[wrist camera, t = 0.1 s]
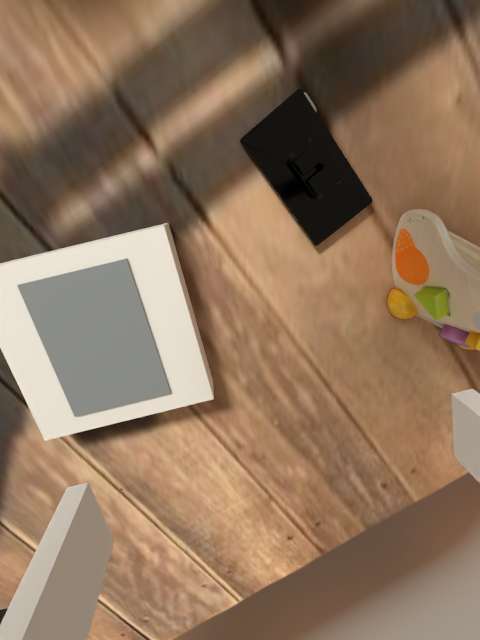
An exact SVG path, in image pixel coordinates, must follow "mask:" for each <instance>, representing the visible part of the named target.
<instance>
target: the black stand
mask: <svg viewBox="0 0 480 640" xmlns="http://www.w3.org/2000/svg"><path fill="white" fill-rule="evenodd" d="M240 143H241V144H242V146H243V147H244V148H245V150H246V151H247V153H248V154H249V155H250V157H251V158H252V160H253V161H254V162H255V164H256V165H257V166H258V168H259V169H260V171H261V172H262V173H263V175H264V176H265V178H266V179H267V180H268V182H269V183H270V185H271V186H272V187H273V189H274V190H275V191H276V193H277V194H278V196H279V197H280V198H281V200H282V201H283V203H284V204H285V205H286V207H287V208H288V210H289V211H290V212H291V214H292V215H293V216H294V218H295V219H296V221H297V222H298V223H299V225H300V226H301V228H302V229H303V230H304V232H305V233H306V234H307V236H308V237H309V239H310V240H311V241H312V243H313V244H314V245H318V244H320V243H321V242H322V241H324V240H325V239H326V238H327V237H329V236H330V235H331V234H332V233H334V232H335V231H336V230H338V229H339V228H340V227H341V226H343V225H344V224H345V223H346V222H348V221H349V220H350V219H352V218H353V217H354V216H355V215H357V214H358V213H359V212H360V211H362V210H363V209H364V208H366V207H367V206H368V205H369V204H371V203H372V198H371V197H370V195H369V193H368V192H367V190H366V189H365V187H364V186H363V184H362V183H361V181H360V179H359V178H358V176H357V175H356V173H355V172H354V170H353V169H352V167H351V165H350V164H349V162H348V161H347V159H346V158H345V156H344V155H343V153H342V151H341V150H340V148H339V147H338V145H337V144H336V142H335V141H334V139H333V137H332V136H331V134H330V133H329V131H328V130H327V128H326V127H325V125H324V124H323V122H322V120H321V119H320V117H319V116H318V114H317V112H316V107H315V106H314V104H313V103H312V101H311V99H310V98H309V96H308V95H307V93H305V92H303V91H302V90H301V89H298V90H297V91H296V92H295V93H293V94H292V95H291V96H290V97H289V98H288V99H286V100H285V101H284V102H283V103H282V104H281V105H279V106H278V107H277V108H276V109H275V110H274V111H273V112H271V113H270V114H269V115H268V116H267V117H266V118H264V119H263V120H262V121H261V122H260V123H259V124H258V125H256V126H255V127H254V128H253V129H252V130H251V131H249V132H248V133H247V134H246V135H245V136H244V137H243V138H241V140H240Z"/></svg>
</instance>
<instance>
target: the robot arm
mask: <svg viewBox="0 0 480 640" xmlns="http://www.w3.org/2000/svg"><path fill="white" fill-rule="evenodd" d="M452 416H453V440H454V457H455V458H456V459H457V460H458V461H459V462H460V463H461V464H462V465H463V466H464V467H465V468H466V469H467V470H468V472H469V473H470V474H471V475H472V476H473V477H474V478H475V479H476V480H477V481H478V482H479V483H480V394H479V393H478V392H477V391H475V390H474V389H469V390H465V391H461V392H457V393H453V394H452ZM113 543H114V538H113V536H112V534H111V532H110V529H109V527H108V525H107V523H106V521H105V518H104V516H103V514H102V512H101V509H100V507H99V505H98V503H97V501H96V498H95V496H94V494H93V492H92V489H91V487H90V485H89V483H84V484H80V485H76V486H72V487H67V489H66V491H65V493H64V495H63V497H62V499H61V501H60V503H59V505H58V507H57V509H56V511H55V513H54V515H53V517H52V519H51V521H50V523H49V525H48V528H47V530H46V532H45V534H44V536H43V538H42V540H41V542H40V544H39V546H38V548H37V550H36V552H35V554H34V556H33V558H32V560H31V562H30V564H29V566H28V568H27V571H26V573H25V575H24V577H23V579H22V581H21V583H20V585H19V587H18V589H17V591H16V593H15V595H14V597H13V599H12V601H11V603H10V605H9V607H8V608H7V609H3V610H0V640H87V638H88V634H89V630H90V627H91V623H92V619H93V616H94V612H95V608H96V605H97V601H98V597H99V594H100V590H101V587H102V583H103V579H104V576H105V572H106V568H107V565H108V561H109V557H110V554H111V550H112V546H113Z"/></svg>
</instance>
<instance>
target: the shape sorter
mask: <svg viewBox="0 0 480 640" xmlns="http://www.w3.org/2000/svg"><path fill="white" fill-rule="evenodd" d="M392 274H393V280H394V284H395V287H396V289H392V290H391V292H390V294H389V296H388V300H387V305H388V309H389V311H390V312H391V314H392V315H393V316H395V317H397V318H399V319H408V318H412V317H414V316H415V315H417V316H418V317H420V318H422V319H425V320H427V321H429V322H431V323H433V324H435V325H436V326H438V327H440V328H442V330H441V332H440V334H439V336H440V337H442V338H444V339H446V340H448V341H450V342H453V343H455V344H457V345H458V346H459V347H461V348H462V349H467V350H473V349H476V350H479V351H480V248H479V247H478V246H476V245H474V244H472V243H470V242H468V241H467V240H465V239H463V238H461V237H459V236H457V235H456V234H454V233H452V232H450V231H448V230H446V227H445V225H444V223H443V221H442V220H441V219H440V217H439V216H437V215H436V214H435V213H433V212H431V211H428V210H425V209H413V210H409V211H407V212H405V213H404V214H403V215H402V216H401V218H400V220H399V223H398V226H397V229H396V233H395V237H394V242H393V248H392Z"/></svg>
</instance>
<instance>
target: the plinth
mask: <svg viewBox="0 0 480 640" xmlns="http://www.w3.org/2000/svg"><path fill="white" fill-rule="evenodd" d="M0 348H1V350H2V352H3V354H4V356H5V358H6V360H7V363H8V365H9V367H10V369H11V371H12V373H13V375H14V377H15V379H16V381H17V383H18V385H19V388H20V390H21V392H22V394H23V396H24V398H25V400H26V402H27V404H28V406H29V408H30V411H31V413H32V415H33V417H34V419H35V421H36V423H37V425H38V427H39V429H40V431H41V433H42V436H43V438H44V440H50V439H54V438H58V437H62V436H66V435H70V434H74V433H78V432H82V431H86V430H90V429H94V428H98V427H103V426H107V425H111V424H115V423H119V422H123V421H127V420H131V419H135V418H139V417H143V416H147V415H151V414H156V413H160V412H164V411H168V410H172V409H176V408H180V407H184V406H188V405H192V404H196V403H200V402H204V401H209V400H213V399H214V388H213V378H212V375H211V371H210V368H209V364H208V361H207V357H206V354H205V350H204V347H203V343H202V339H201V336H200V332H199V329H198V325H197V322H196V318H195V315H194V311H193V308H192V304H191V301H190V297H189V293H188V290H187V286H186V283H185V279H184V276H183V272H182V269H181V265H180V262H179V258H178V255H177V251H176V247H175V244H174V240H173V237H172V233H171V230H170V226H169V223H166V224H161V225H157V226H153V227H149V228H145V229H141V230H137V231H132V232H128V233H124V234H120V235H116V236H112V237H108V238H103V239H99V240H95V241H91V242H87V243H83V244H79V245H74V246H70V247H66V248H62V249H58V250H54V251H50V252H45V253H41V254H37V255H33V256H29V257H25V258H21V259H16V260H12V261H8V262H4V263H0Z"/></svg>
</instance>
